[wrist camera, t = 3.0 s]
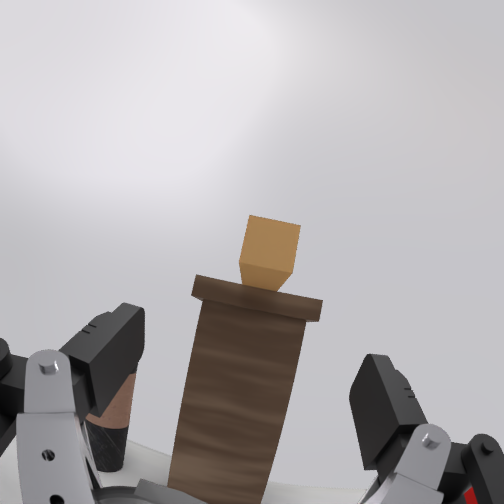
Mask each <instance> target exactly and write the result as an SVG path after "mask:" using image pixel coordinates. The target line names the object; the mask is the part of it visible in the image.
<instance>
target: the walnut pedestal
mask: <svg viewBox="0 0 504 504" xmlns="http://www.w3.org/2000/svg"><path fill="white" fill-rule="evenodd" d="M191 295H192V296H193V297H195V298H197V299H199V300H201V301H203V302H202V307H201V311H200V315H199V320H198V325H197V329H196V334H195V339H194V343H193V348H192V353H191V358H190V362H189V367H188V372H187V377H186V382H185V388H184V393H183V398H182V403H181V409H180V414H179V419H178V425H177V430H176V436H175V442H174V448H173V454H172V460H171V466H170V472H169V478H168V485H167V487H168V488H171V489H175V490H178V491H182V492H184V493H186V494H188V495H190V496H192V497H194V498H197V499H199V500H201V501H203V502H205V503H208V504H261V501H262V497H263V494H264V491H265V488H266V485H267V481H268V478H269V474H270V471H271V468H272V464H273V461H274V457H275V454H276V450H277V446H278V443H279V439H280V435H281V431H282V428H283V424H284V420H285V416H286V412H287V407H288V403H289V400H290V395H291V391H292V386H293V382H294V378H295V373H296V369H297V365H298V359H299V355H300V351H301V346H302V341H303V336H304V330H305V326H306V322H318V321H319V319H320V314H321V308H322V302H323V300H318V299H313V298H307V297H302V296H297V295H292V294H287V293H282V292H277V291H272V290H267V289H262V288H257V287H252V286H247V285H242V284H237V283H233V282H228V281H224V280H219V279H214V278H210V277H205V276H201V275H196V278H195V281H194V286H193V290H192V294H191Z"/></svg>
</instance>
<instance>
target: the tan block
mask: <svg viewBox="0 0 504 504" xmlns="http://www.w3.org/2000/svg"><path fill="white" fill-rule="evenodd" d="M299 232H300V225H296V224H291V223H287V222H282V221H277V220H272V219H267V218H262V217H256V216H252V215H250V216H249V219H248V224H247V229H246V233H245V237H244V242H243V246H242V251H241V256H240V260H239V266H240V272H241V278H242V285H247V286H252V287H257V288H262V289H267V290H272V291H278V289H279V288H280V287H281V286H282V285H283V284H284V282H285V281H286V280H287V279H288V278H289V277H290V275H291V274H292V272H293V267H294V262H295V256H296V250H297V244H298V239H299Z"/></svg>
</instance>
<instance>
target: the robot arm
mask: <svg viewBox="0 0 504 504" xmlns="http://www.w3.org/2000/svg"><path fill="white" fill-rule="evenodd" d="M144 332H145V311H144V309H143V308H142V307H138V306H135V305H131V304H128V303H122V304H121V305H120V306H119V307H118V308H117V309H115V310H114V311H113V312H112V313H111V312H106V313H103V314H101V315H98V316H96V317H95V318H94V319H93V320H91V321H90V322H89V323H88V325H86V326H85V327H84V328H83V329H82V330H81V331H79V332H78V333H77V334H76V335H75V336H74V337H73V338H71V339H70V340H69V341H68V342H67V343H66V344H65V345H64V346H63V347H62V348H61V349H59V351H56V350H41V351H38V352H36V353H34V354H33V355H31V356H30V357H29V358H25V357H20V356H16V355H12V354H11V353H10V350H9V347H8V344H7V342H6V341H5V340H4V339H2V338H0V457H1V455H2V454H3V452H4V451H5V450H6V448H7V447H8V445H9V444H10V443H11V441H12V440H13V438H14V437H15V436H16V435H17V458H18V470H19V479H20V487H21V494H22V501H23V504H208V503H205V502H203V501H201V500H199V499H197V498H194V497H192V496H190V495H188V494H186V493H184V492H182V491H178V490H175V489H171V488H168V487H165V486H161V485H158V484H155V483H152V482H149V481H146V480H143V479H140V481H139V484H138V486H137V487H127V486H111V487H104V488H103V486H102V483H101V480H100V478H99V475H98V472H97V469H96V466H95V462H94V459H93V455H92V451H91V447H90V443H89V438H88V434H87V429H86V425H85V421H84V419H85V418H86V416H87V415H88V413H90V414H92V415H94V416H96V417H99V418H100V417H101V416H102V414H103V413H104V411H105V410H106V409H107V407H108V406H109V404H110V403H111V401H112V400H113V398H114V397H115V395H116V394H117V392H118V391H119V389H120V388H121V386H122V385H123V383H124V382H125V381H126V379H127V378H128V376H129V375H130V373H131V372H132V370H133V369H134V367H135V366H136V365H137V363H138V362H139V360H140V358H141V356H142V354H143V350H144V342H145V340H144V338H145V333H144ZM349 401H350V406H351V410H352V415H353V419H354V423H355V428H356V432H357V437H358V442H359V446H360V451H361V456H362V461H363V466H364V470H377V472H378V475H377V476H376V478H375V479H374V480H373V481H372V483H371V484H370V486H369V488H368V489H367V490H366V492H365V493H364V495H363V496H362V497H361V499H360V500H359V502H358V503H357V504H467V503H466V499H465V496H464V493H465V492H467V491H468V490H469V489H470V488H471V487H472V488H473V491H474V494H475V497H476V500H477V503H478V504H504V454H503V452H502V450H501V448H500V446H499V444H498V442H497V441H496V440H495V439H494V438H492V437H490V436H489V435H486V434H477V435H475V436H474V437H473V438H472V439H471V441H470V442H469V443H468V444H460V443H454V442H451V440H450V437H449V436H448V434H447V433H446V432H445V431H444V430H443V429H442V428H440V427H438V426H436V425H433V424H428V422H427V420H426V418H425V415H424V413H423V411H422V409H421V407H420V405H419V403H418V401H417V399H416V398H415V394H414V392H413V390H411V386H410V384H409V382H408V380H407V379H406V378H405V377H404V376H403V375H402V374H401V373H400V372H399V371H398V370H395V368H394V366H393V364H392V362H391V360H390V358H389V357H388V356H386V355H377V354H367V355H366V357H365V358H364V360H363V363H362V365H361V367H360V369H359V371H358V374H357V376H356V378H355V380H354V382H353V384H352V386H351V390H350V395H349Z"/></svg>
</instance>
